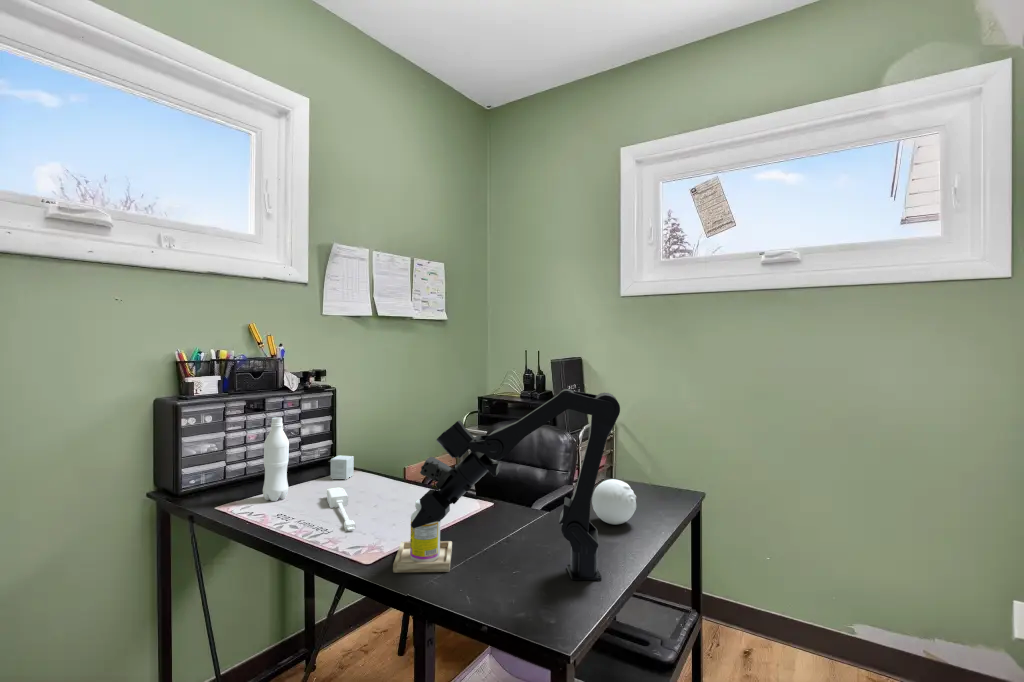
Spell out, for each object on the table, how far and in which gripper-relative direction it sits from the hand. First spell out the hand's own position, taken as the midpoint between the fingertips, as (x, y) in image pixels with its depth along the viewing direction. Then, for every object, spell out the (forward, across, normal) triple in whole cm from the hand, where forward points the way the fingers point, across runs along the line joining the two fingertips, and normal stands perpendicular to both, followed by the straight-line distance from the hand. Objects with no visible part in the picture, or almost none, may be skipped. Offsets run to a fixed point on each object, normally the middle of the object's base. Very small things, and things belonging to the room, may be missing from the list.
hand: (419, 519), depth 114 cm
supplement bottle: (+5, 0, +7) cm, 9 cm away
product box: (+41, -59, -28) cm, 78 cm away
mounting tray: (+6, 0, +7) cm, 9 cm away
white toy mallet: (+30, -26, -16) cm, 42 cm away
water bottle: (+47, -33, -34) cm, 67 cm away
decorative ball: (-25, -33, +39) cm, 57 cm away
